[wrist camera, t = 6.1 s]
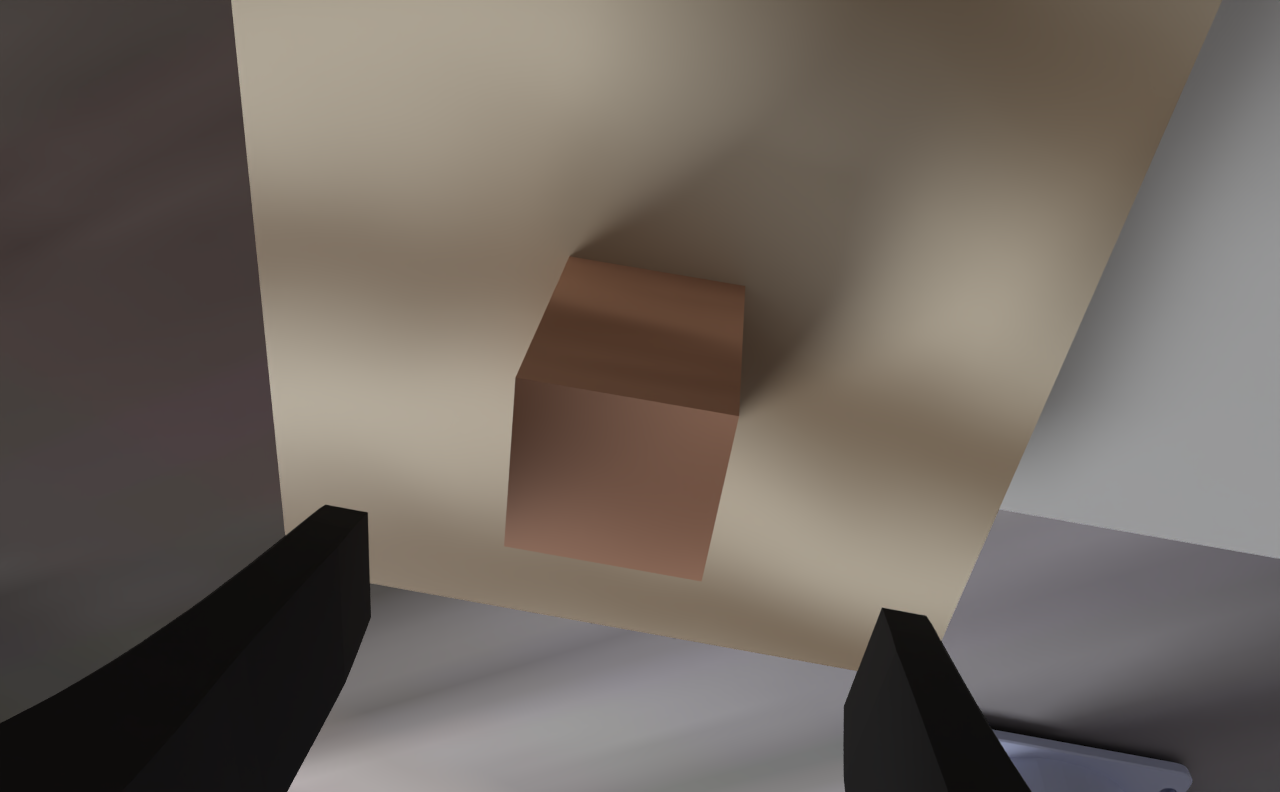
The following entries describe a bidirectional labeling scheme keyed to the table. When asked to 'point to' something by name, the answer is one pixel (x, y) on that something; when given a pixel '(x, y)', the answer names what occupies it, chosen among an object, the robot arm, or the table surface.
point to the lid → (687, 287)
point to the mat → (1183, 326)
